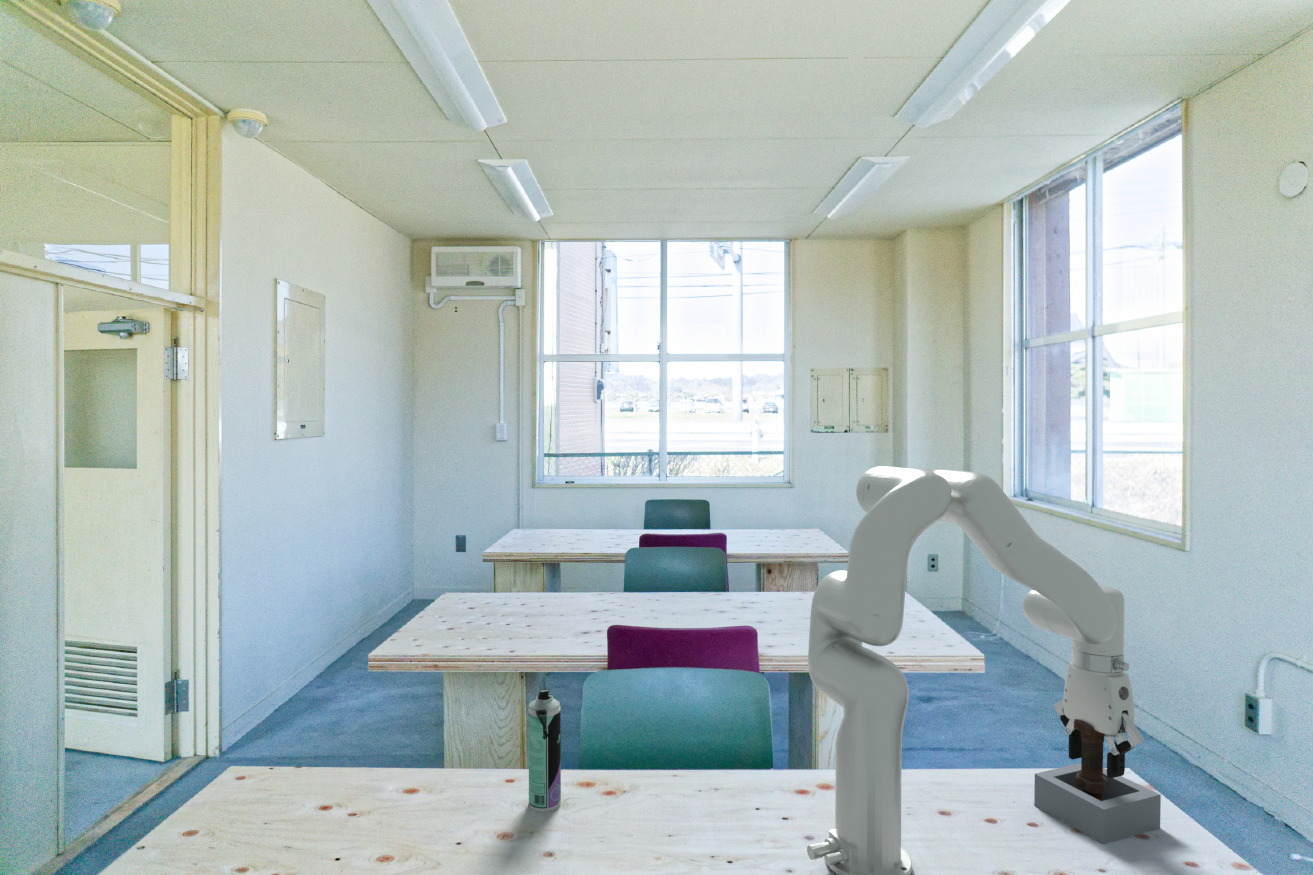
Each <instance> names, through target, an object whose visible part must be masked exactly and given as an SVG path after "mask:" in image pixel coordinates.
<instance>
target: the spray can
mask: <svg viewBox="0 0 1313 875" xmlns="http://www.w3.org/2000/svg"><path fill="white" fill-rule="evenodd" d="M550 693H551V692H550V689H549V688H541V689H540V691H539V693H538V695H537V696H536V698H535V699H534V700H533V701H531V702H530V703H529V704H528V807H529V809H530V810H531V811H533V812H535V813H540V814H541V813H543V814H544V813H545V814H546V813H551V812H553V811H555V810H557V809H559V808H560V807H561V803H562V782H561V781H562V778H561V776H562V774H561V773H562V769H561V768H562V767H561V766H562V765H561V763H562V761H561V760H562V758H561V755H562V754H561V752H562V751H561V749H562V748H561V747H562V746H561V745H562V744H561V739H562V738H561V736H562V734H561V733H562V732H561V724H562V723H561V714H562V713H561V709H562V708H561V707H562V706H561V702H560V701H559V700H558V699H555V698H554V697H553V695H551V694H550Z"/></svg>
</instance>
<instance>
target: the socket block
mask: <svg viewBox="0 0 1313 875" xmlns="http://www.w3.org/2000/svg"><path fill="white" fill-rule="evenodd" d="M1078 772H1081V762H1080V763H1075V764H1070V765H1067V766H1062V767H1058V768H1053V769H1049V770H1045V771H1040V772H1036V773H1034V800H1033V802H1034V806H1036V807H1037V808H1039V809H1040V810H1042V811H1044V812H1045V813H1048V814H1050V815H1051V816H1053V817H1054V818H1056V819H1058V820H1060V821H1062V822H1063V823H1065V824H1067V825H1069V826H1070V827H1071V828H1074V829H1075V830H1078V831H1079V832H1081V833H1082V834H1084V835H1086V836H1088V837H1090V838H1092V839H1094V840H1096V841H1097V842H1099V843H1100V844H1103V845H1106V844H1109V843H1113V842H1117V841H1120V840H1123V839H1127V838H1131V837H1133V836H1136V835H1140V834H1144V833H1148V832H1150V831H1155V830H1158V829H1161V803H1162V802H1161V801H1162V800H1161V794H1160V793H1158V792H1156V791H1154V790H1152V789H1150V788H1148V787H1145V786H1143V785H1141V784H1139V783H1137V782H1135V781H1133V780H1130V779H1128V778H1126V777H1124V776H1119V777H1115V778H1110V777H1108V776H1107V768H1104V767H1103V776H1104V777H1105V778H1106V779H1107V780H1108V789H1107V791H1106V792H1105V793H1103V794H1102V795H1103V796H1102V801H1100V800H1098V799H1096V798H1094V797H1092V796H1090V795H1088V794H1086V793H1084V792H1082V791H1081V789H1080V788H1079V787H1078V786H1077V785H1076V775H1077V773H1078Z"/></svg>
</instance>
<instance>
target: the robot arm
mask: <svg viewBox="0 0 1313 875" xmlns="http://www.w3.org/2000/svg"><path fill="white" fill-rule="evenodd" d="M856 485H857V486H856V492H855V494H856V499H857V502H858V505H859V506H860V507H861V509H862V510H863V511H864V512H865V515H864V516H863V517H862V518H861V520H860V521H859V523H858V524H857V525H856V528H855V529H854V532H853V534H852V538H851V540H850V545H849V552H848V560H847V567H846V570H843V569H842V570H835V571H832V572H830V573H829V574H827V575H825V576H824V577H823V578H822V579H821V580H820V581H819V583H818V585H817V587H816V589H815V591H814V593H813V597H812V600H811V601H812V602H811V608H810V620H809V621H810V622H809V634H808V635H809V636H808V652H807V666H808V674H809V676H810V677H809V678H810V680H811V682H812V683H813V685H814V686H815V688H816V689H818V691H819V692H821V693H822V694H824V695H825V697H828V698H829V699H831V700H832V701H833V702H835V703H836V704H838V705H839V706H840V707H842V709H843V715H842V720H841V722H840V725H839V727H838V730H837V732H836V737H835V750H834V751H835V754H834V756H835V757H834V758H835V792H834V793H835V798H834V799H835V801H834V802H835V809H834V812H835V813H834V814H835V815H834V817H835V818H834V820H835V821H834V824H835V827H834V829H830V830H828V838H826V839H824V842H818V843H813V844H808V845H807V847H806V853H807V855H808V857H809V859H810V860H812V861H813V860H814V861H815V860H817V859H822V858H824V862H825V864H826V866H828V867H829V869H830V870H832V872H834V874H836V875H911V874H912V871H913V864H912V863H913V862H912V858H911V855H909V853H908V852H907V850H905V849H904V848H903V847H902V773H903V772H902V771H903V770H902V751H903V750H902V749H903V748H902V743H903V732H904V724H905V717H906V713H907V710H908V704H909V698H910V692H909V691H910V690H909V684H908V681H907V678H906V677H905V675H904V673H903V672H902V670H901V669H900V668H899V667H898V666H897V665H896V664H895V663H894V662H893V661H891V660H890V659H889V658H887V657H885V656H883V655H882V654H880V653H877V652H876V651H873V650H871V649H869V648H866V647H865V646H863V644H867V645H870V646H874V647H885V646H889V645H891V644H893V643H894V642H895V641H896V640H897V639H898V638H899V636H900V634H901V631H902V629H903V624H904V615H905V614H904V613H905V600H906V599H905V597H906V587H907V586H906V584H907V570H908V564H909V563H908V562H909V558H910V553H911V550H912V548H913V546H914V544H915V542H916V541H917V540H918V538H919V537H920V536H921V535H922V534H923V533H924V532H925V531H926V530H927V529H929V528H930V527H931V526H933V525H934V524H935V523H937V522H938V521H943V522H948V523H954V524H956V525H957V526H958V527H960V528H961V530H962V531H963V532H964V534H965V535H966V536H967V538H969V540H970V541H971V542H972V544H974V546H975V547H976V548H977V550H979V552H980V554H981V555H982V556H983V557H984V559H986V561H987V562H988V564H990V566H991V567H992V568H993V569H995V570H996V571H998V572H999V573H1000V574H1002V575H1003V576H1005V577H1007V578H1008V579H1010V580H1012V581H1014V582H1016V583H1018V584H1020V585H1022V586H1024V587H1026V588H1029V589H1030V591H1028V592H1027V594H1026V595H1025V596H1024V598H1023V601H1022V612H1023V613H1024V616H1025V618H1026V619H1027V620H1028V621H1029V622H1030V623H1031V624H1032V625H1033V626H1035V627H1037V628H1039V629H1041V630H1044V631H1047V632H1050V633H1052V634H1056V635H1059V636H1063V637H1066V638H1068V639H1071V661H1070V662H1068V665H1067V666H1068V667H1067V670H1066V674H1065V680H1064V688H1063V697H1062V698H1061V699H1060V700H1058V701H1057V702H1055V703H1054V704H1053V708H1054V710H1055V711H1056V713H1057V714H1058V716H1059V720H1060V721H1061V723H1062V724H1063V726H1064V732H1065V733H1066V735H1067V736H1068V758H1069V759H1071V760H1076V759H1081V756H1082V755H1081V754H1082V753H1081V752H1082V751H1081V750H1082V738H1081V731H1079V730H1077V729H1075V728H1074V720H1075V719H1077V720H1080V721H1082V722H1084V723H1087V724H1089V725H1092V726H1093V727H1094V730H1096V731H1097V732H1099V733H1102V734H1104V735H1105V736H1104V737H1105V738H1106V742H1107V744H1108V748H1109V751H1110V752H1107V753H1106V769H1107V776H1108V777H1110V778H1115V777H1119V776H1122V777H1124V775H1125V770H1126V753H1129V752H1130V751H1131V750H1133V749H1134V748H1135V747H1137V746H1138V745H1140V744H1141V743H1143V742H1144V741H1145V738H1144V736H1143V735H1142V733H1141V731H1139V729H1138V728H1137V726H1136V725H1135V706H1134V696H1133V689H1132V685H1131V684H1132V683H1131V680H1130V676H1129V674H1128V673H1126V672H1127V671H1129V669H1130V664H1129V662H1125V651H1124V650H1125V645H1124V644H1125V596H1124V594H1123V593H1122V591H1121V590H1119V589H1118V588H1116V587H1112V586H1108V585H1102V584H1099V583H1098V582H1097V581H1096V580H1095V579H1094V577H1093V576H1091V575H1090V574H1089V572H1087V571H1086V570H1085V569H1084V568H1083V567H1081V566H1080V565H1079V564H1077V563H1076V562H1075V561H1074V560H1072V559H1071V558H1069V557H1068V556H1066V555H1065V554H1064V553H1062V552H1061V551H1060V550H1058V549H1057V548H1056V547H1054V546H1053V545H1052V544H1050V543H1049V542H1047V541H1046V540H1044V539H1043V538H1041V536H1039V534H1037V533H1036V532H1035V530H1034V529H1033V528H1032V527H1031V525H1030V524H1029V523H1028V521H1027V520H1026V518H1025V517H1024V516H1023V515H1022V513H1021V512H1020V511H1019V510H1018V508H1017V507H1016V505H1015V504H1014V503H1013V502H1012V501H1011V499H1010V498H1009V496H1007V494H1006V493H1005V491H1004V490H1003V488H1001V486H1000V485H999V484H998V483H997V481H995V480H994V479H993V478H992V477H991V476H989V475H986V474H984V473H980V472H975V471H966V470H953V469H938V468H937V469H935V468H933V469H932V468H930V469H929V468H910V467H899V466H898V467H896V466H888V465H886V466H885V465H879V466H878V465H877V466H875V467H872V468H870V469H868V470H866V471H864V473H863V474H862V476H861V477H860V478H859V480H858V482H857V484H856ZM1124 671H1125V672H1124ZM1125 734H1127V735H1128V737H1127V738H1126V737H1125Z"/></svg>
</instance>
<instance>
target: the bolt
mask: <svg viewBox="0 0 1313 875" xmlns="http://www.w3.org/2000/svg"><path fill="white" fill-rule="evenodd" d="M1074 728H1075V729H1077V730H1079V731H1081V738H1082V750H1081V751H1082V752H1081V753H1082V754H1081V755H1082V756H1081V758H1080V759H1081V760H1080V761H1081V762H1080V763H1081V772H1078V773H1077V775H1076V785H1077V786H1078V787H1079V788H1080V789H1081V791H1082V792H1084V793H1086V794H1088V795H1090V796H1092V797H1094V798H1096V799H1098V800H1100V801H1102V796H1103V795H1102V794H1103V793H1105V792H1106V791H1107V789H1108V780H1107V779H1106V778H1105V777H1104V776H1103V768H1104V743H1105V737H1106V736H1105V735H1104V734H1102V733H1099V732H1097V731H1096V730H1094V727H1093V726H1092V725H1089V724H1087V723H1084V722H1082V721H1080V720H1077V719H1075V720H1074Z"/></svg>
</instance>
